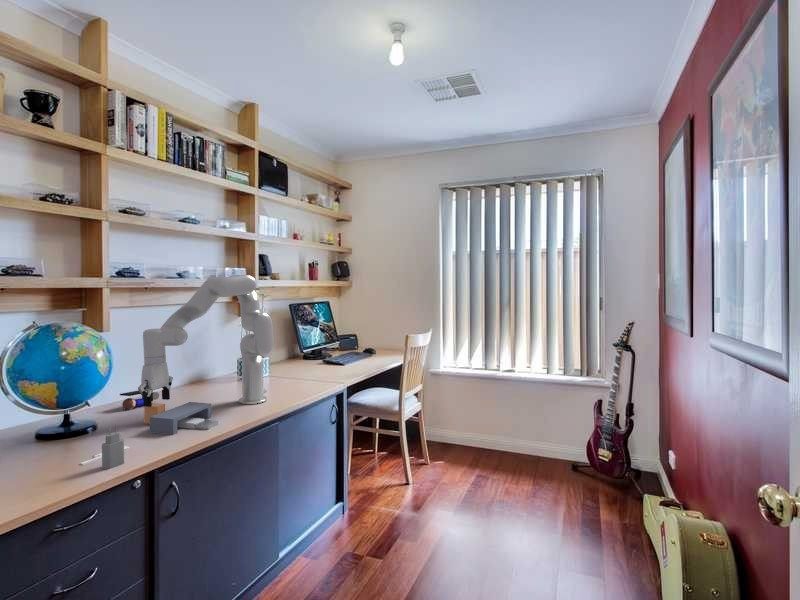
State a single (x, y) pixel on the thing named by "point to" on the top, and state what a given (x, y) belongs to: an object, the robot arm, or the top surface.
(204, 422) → the steel token
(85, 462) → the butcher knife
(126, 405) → the figurine character
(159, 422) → the riser shelf
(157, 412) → the scraper tool
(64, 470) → the top surface
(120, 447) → the power adapter
